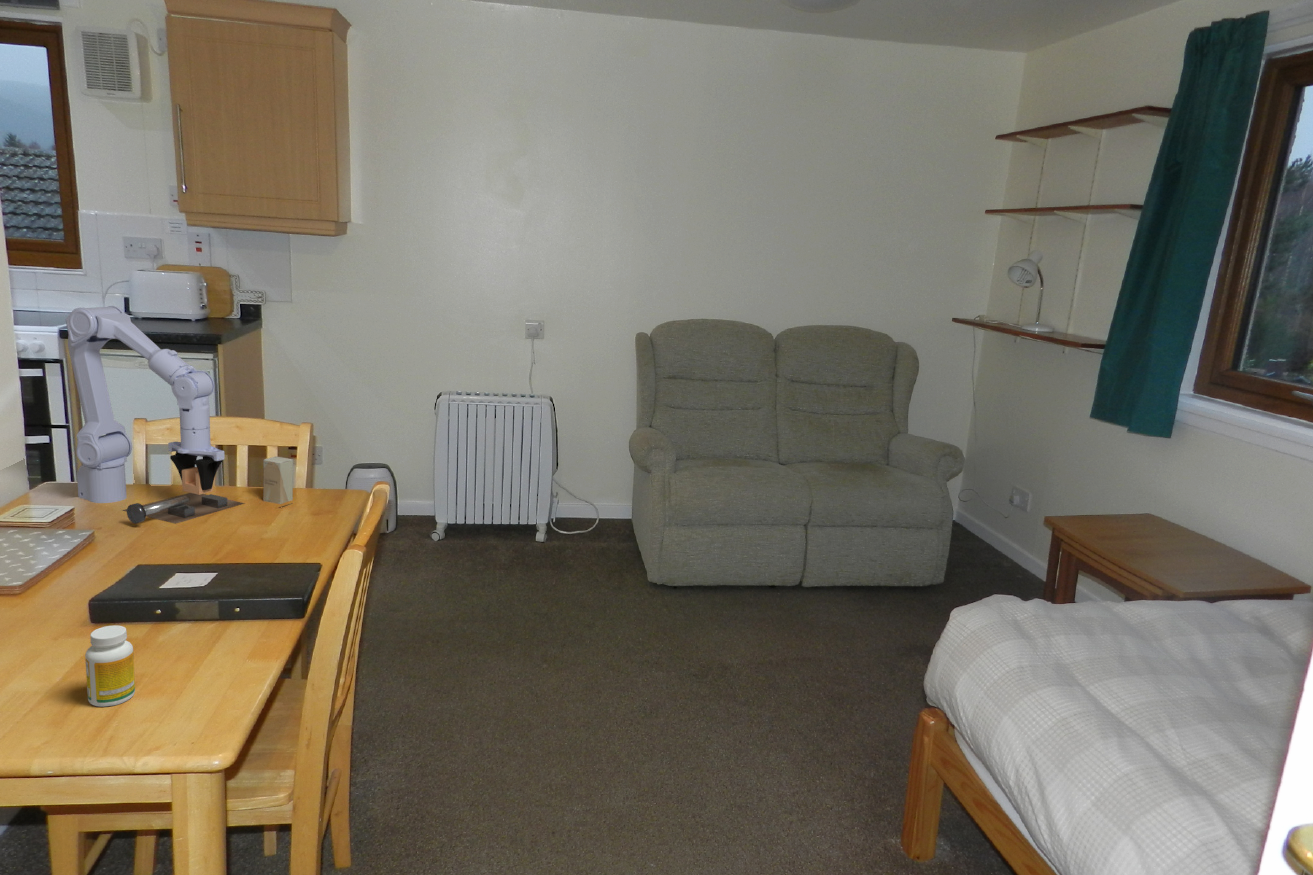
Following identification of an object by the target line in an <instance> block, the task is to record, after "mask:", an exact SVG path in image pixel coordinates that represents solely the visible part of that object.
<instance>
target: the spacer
mask: <svg viewBox="0 0 1313 875" xmlns="http://www.w3.org/2000/svg"><path fill="white" fill-rule="evenodd" d="M181 482H182V484H181V485H182V486H181V487H182V492H185V493H194V494H198V495H200V494H206V493H211V492H213V491H214V485H213V486H212V489H208V490H202V488H201V484H200V475H199V472H198V469H197V466H195V467H193V468H188V469H184V470H182V480H181Z"/></svg>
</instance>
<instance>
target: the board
mask: <svg viewBox="0 0 1313 875" xmlns="http://www.w3.org/2000/svg"><path fill="white" fill-rule="evenodd" d="M206 495H207V494H206V493H204V494H200V495H198V494H194V493H190V492H186V493H184V494H181V495H176V496H173V497H168V498H165V499H161V500H157V501H153V502H149V503H145V504H141V505H142V506H143V507H145V506H149V505H153V504H157V503H160V502H164V501H168V500H172V499H176V498H180V497H183V496H187V497H188V499H189V503H188V504H185V505H189V506H193V507H195V515H194V516H190V517H187V518H182V517H178V516H174V515H170V514H168V509H167V510H163V511H160V512H156V513H152V514H149V515H146V518H151V519H154V520H159V521H163V522H165V523H166V522H168V523H171V524H174V525H175V524H179V523H180V524H181V523H183V522H187V521H190V520H192V519H193V520H194V519H197V518H199V517H203V516H207V515H210V514H213V513H217V512H221V511H223V510H227V509H231V508H234V507H239V506H242V505H244V504H246V503H245V502H241V501H237V500H232V499H229V498H227V506H225V507H222V508H214V507H210V506H205V505H202V496H206ZM121 511H122V512H123V511H124V512H126V513H127V508H126V509H122V510H121Z"/></svg>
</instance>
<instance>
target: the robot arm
mask: <svg viewBox="0 0 1313 875" xmlns="http://www.w3.org/2000/svg"><path fill="white" fill-rule="evenodd" d="M65 324H66V328H67V332H68V337H67V348H68V349H67V350H68V352H69V357H70V361H71V366H72V370H73V375H74V380H75V385H76V388H77V394H78V397H79V398H78V399H79V402H80V407H81V412H82V417H83V421H84V425H83V426H82V427H81V429H80V430H79V431H78V432H77V434H76V439H77V440H76V441H77V445H76V448H75V449H76V450H75V453H76V457H77V458H78V460H79V461H80V463H81V465H80V467H79V468H78V470H77V471H76V472H77V473H76V481H77V493H78V494H77V497H78V498H80V499H83V500H86V501H88V502H90V503H94V504H110V503H116V502H121V501H124V500H126V499H127V498H128V497H127V483H126V482H127V481H126V464H125V463H127V462H128V460H127V457H129V456H130V455H131V453H132V451H133V445H132V441H131V439H130V437H129V436H128V435H127V433H126V429H125V426H124V425H123V424H122V423H119V422H118V421H116V420H115V416H114V413H113V412H114V411H113V408H112V403H111V400H110V399H111V398H110V393H109V390H108V385H107V381H106V376H105V371H104V367H103V363H102V357H101V353H100V352H101V350H102V349H103V347H104V346H105V345H106V343H107V342H109V341H110V340H113V339H114V340H118V341H120V342H122V343H123V344H124V345H126V346H127V347H128V348H130V349H131V350H133V351H134V352H136V353H137V354H139V355H140V356H141V357H143V358H145V359H146V361H148V362H147V365H148V368H149V370H151V371H152V372H153V373H155V374H156V375H157V376H158V377H159V378H161V379H162V380H163V381H164V382H166V383H167V384H168V385H169V386H171V393H172V394H173V395H174V397H175V398H176V403H177V406H178V409H179V410H178V411H179V424H180V425H179V427H180V428H179V430H180V431H179V432H180V441H171V442H167V443H168V444H167V445H168V446H167V447H168V448H167V449H168V452H170V453H171V452H175V453H174V454H172V455H170V456H169V458H170V460H171V462H172V463H173V465H174V466H175V468H176V470H177V471H178V475H179V477H180V480H181V481H182V470H184V469H188V468H193V467H197V469H198V472H199V475H200V484H201V488H202V490H208V489H212V486H213V487H214V481H215V478H216V474H217V471H218V470H219V468H220V466H221V464H222V463H223V460H225V451H224V450H221V449H218V448H216V447H215V446H212V444H211V423H210V422H211V418H210V417H211V416H210V396H211V395H212V394H213V393H214V390H215V382H214V380H213V377H212V376H211V375H210V374H209V373H208V371H205V370H198V369H196V368H195V367H194V366H193V365H189V364H188V363H187V362H186V361H184V360H183V359H182V358H181V357H180V356H179V355H178V352H177V351H176V350H173V349H172V350H171V349H169V348H162V349H161V348H160V347H159V345H157V344H156V343H155V342H153V340H151V339H150V338H149V337H148V336H147V335H146V334H145V333H143V331H142V330H141V329H140V328H139V327H137V326H136V324H134V323H133V322H132V320H131V316H130V315H129V314H127V312H124V311H123V310H122V309H121V308H120V307H118V306H114V305H108V306H99V307H97V306H96V307H76V308H74V309H73V310H72V311H70V313H69V315H67V317H66V318H65ZM198 457H200V458H199V459H197V458H198Z"/></svg>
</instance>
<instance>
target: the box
mask: <svg viewBox="0 0 1313 875" xmlns="http://www.w3.org/2000/svg"><path fill="white" fill-rule="evenodd" d="M293 475H294V459H292V458H287V457H282V456H272V457H268V458H265V459H263V481H262V482H263V487H262V488H263V489H262V490H263V496H262V497H263V498H262V500H263V502H266V503H271V504H278V505H281V504H285V503H288V502H291V501H294V500H293V496H294V494H293V492H294V491H293V489H294V485H293V483H294V482H293V480H294V479H293V478H294V476H293ZM292 504H293V502H292V503H288V504H285V505H282V506H279V507H278V508H279V509H281V507H282V508H285V507H288V506H290V505H292Z"/></svg>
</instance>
